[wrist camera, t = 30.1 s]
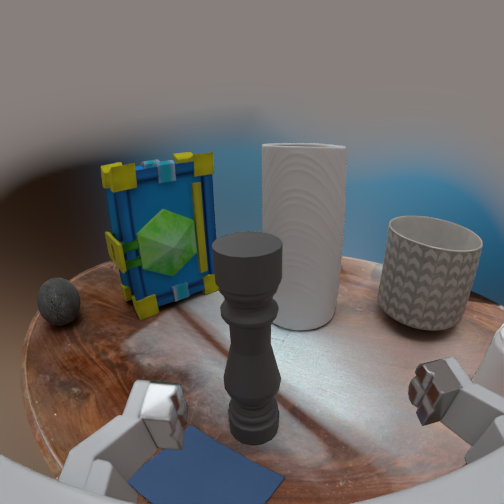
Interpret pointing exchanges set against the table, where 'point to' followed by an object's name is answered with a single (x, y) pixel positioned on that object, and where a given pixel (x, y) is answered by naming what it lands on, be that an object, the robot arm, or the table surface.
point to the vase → (305, 227)
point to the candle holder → (250, 330)
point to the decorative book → (162, 228)
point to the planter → (428, 271)
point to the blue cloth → (204, 475)
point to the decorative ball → (58, 301)
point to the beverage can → (493, 365)
